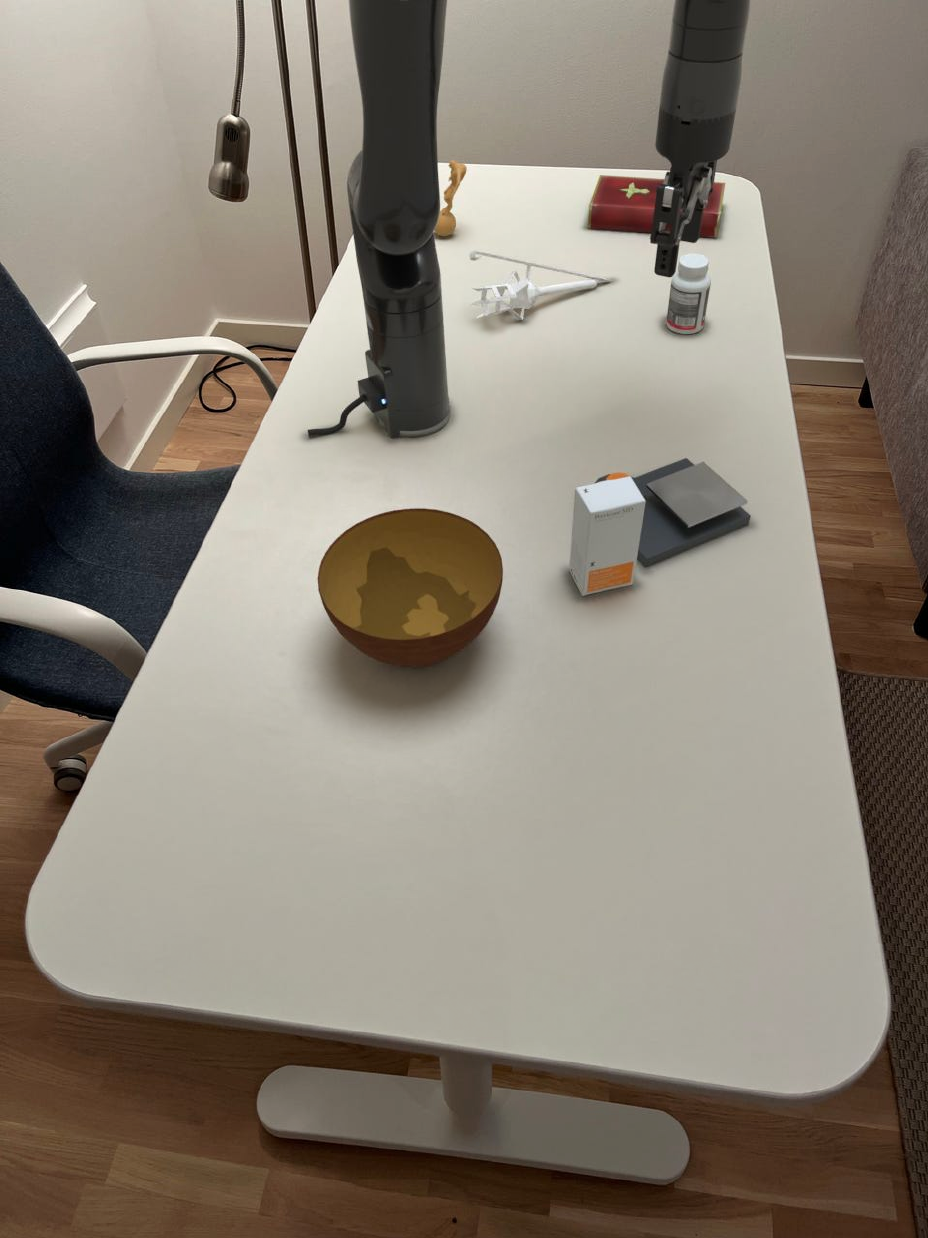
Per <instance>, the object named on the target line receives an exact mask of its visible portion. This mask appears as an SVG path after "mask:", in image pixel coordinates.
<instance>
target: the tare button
mask: <svg viewBox="0 0 928 1238" xmlns="http://www.w3.org/2000/svg"><path fill="white" fill-rule="evenodd" d="M609 474H610V475H609V476H608V477H607V479H606V480H615V479H620V478H624V477H629V476H630V475H629V474H627V473H625V472H612V473H609Z"/></svg>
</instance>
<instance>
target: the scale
mask: <svg viewBox="0 0 928 1238" xmlns="http://www.w3.org/2000/svg"><path fill="white" fill-rule="evenodd" d="M694 465H695V464H694V463H693V462H692V461H690V459H688V458H687V457H685V458H682V459H679V460H677V461H675V462H672V463H669V464H667V465H664V466H660V467H659V468H656V469H654V470H651V471H649V472H646V473H643V474H641V475H638V476H635V477H634V476H631V475H629V476H630V477H631V478H632V479H633V481H634V483H635V484H636V486H637V488H638V489H639V491H640V493H641V494H642V496H643V498H644V499H645V501H646V502H645V509H644V515H643V522H642V529H641V535H640V541H639V548H638V555H637V561H639V562H640V563H641V564H642V566H643V567H644V568H649V567H651V566H653V565H656V564H659V563H661V562H662V561H665V560H667V559H669V558H672V557H674V556H677V555H679V554H682V553H684V552H686V551H689V550H691V549H694V548H696V547H698V546H701V545H703V544H705V543H707V542H710V541H712V540H715V539H718V538H720V537H722V536H725V535H728V534H729V533H731V532H734V531H737V530H739V529H741V528H743V527H746V526H748V525H749V524H750V520H751V516H752V515H751V514H750V513H749V512H748V511H746V510H745V509H744V508H743V507H742V506H740V507H737V508H735V509H733V510H730V511H728V512H725V513H723V514H720V515H718V516H716V517H713V518H711V519H708V520H706V521H703V522H701V523H698V524H696V525H694V526H691V527H689V528H688V527H687V526H686V525H685V524H684V523H683V522H682V521H681V520H680V519H679V518H678V517H677V516H676V515H675V514H673V513H672V512H671V511H670V510H669V509H668V508H667V507H666V506H665V505H664V504H663V503H662V502H661V501H660V500H659V499H658V498H657V497H656V496H655V495H654V494H653V493H652V492H651V491H650V490H649V489H648V488H647V487H646V484H647V483H650V482H653V481H655V480H658V479H660V478H663V477H665V476H668V475H671V474H673V473H676V472H678V471H681V470H683V469H686V468H689V467H691V466H694ZM610 474H611V473H608V474H605V475H604V476H601V477H598V478H597V479H596V481H594V483H593V484H595V483H598V482H601V481H606V479H607V477H608V476H609V475H610Z"/></svg>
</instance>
